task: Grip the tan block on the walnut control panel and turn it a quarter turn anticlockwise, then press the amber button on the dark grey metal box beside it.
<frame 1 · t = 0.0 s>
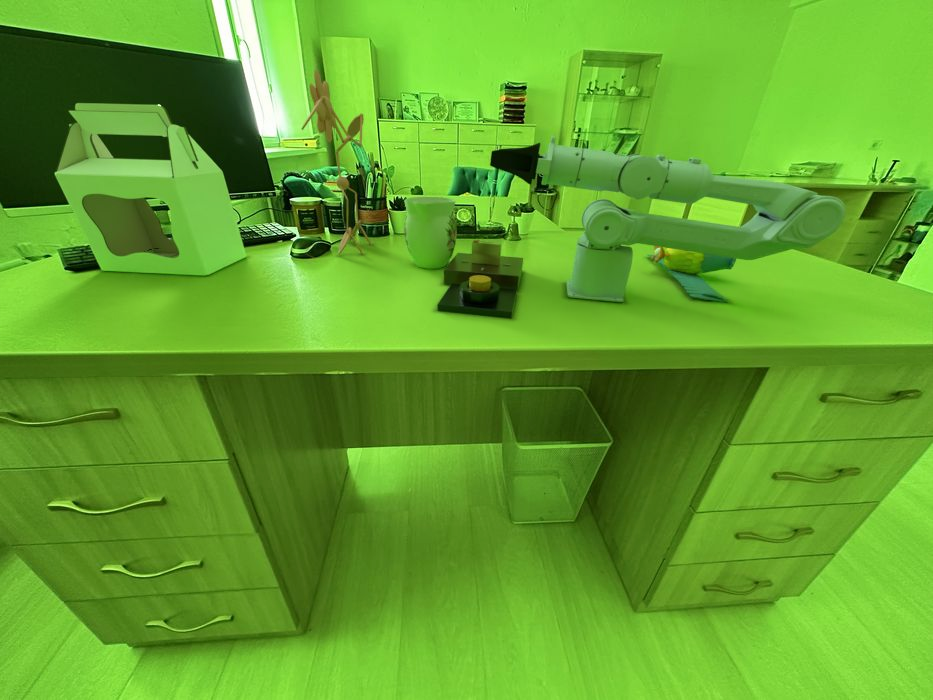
hand: (494, 157, 60), 22 cm above the table, tool horizontal, fingers open, 7 cm apart
button box: (479, 302, 63), on the table
gable box: (179, 264, 77), on the table
tan block: (486, 252, 71), point 5 cm above the table, hinge at 0.0°
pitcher: (432, 263, 82), on the table
figurine: (339, 249, 90), on the table
toy bird: (685, 277, 78), on the table
button: (479, 283, 61), point 3 cm above the table, slide at 0.1 cm
panel: (485, 277, 74), on the table
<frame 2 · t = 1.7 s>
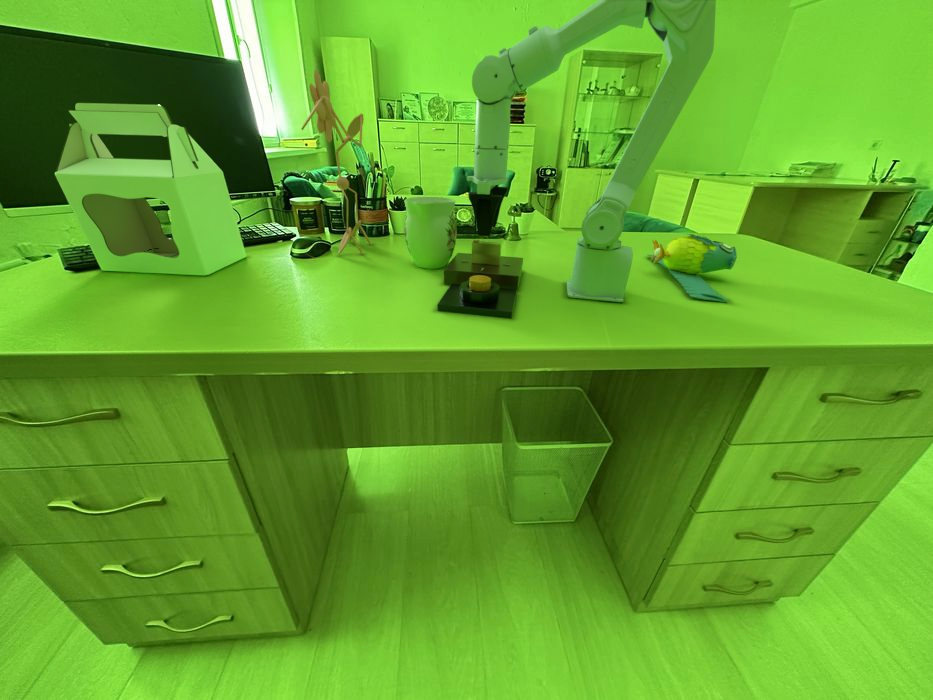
hand: (487, 230, 69), 9 cm above the table, tool pointing down, fingers open, 7 cm apart
nothing on the table moved.
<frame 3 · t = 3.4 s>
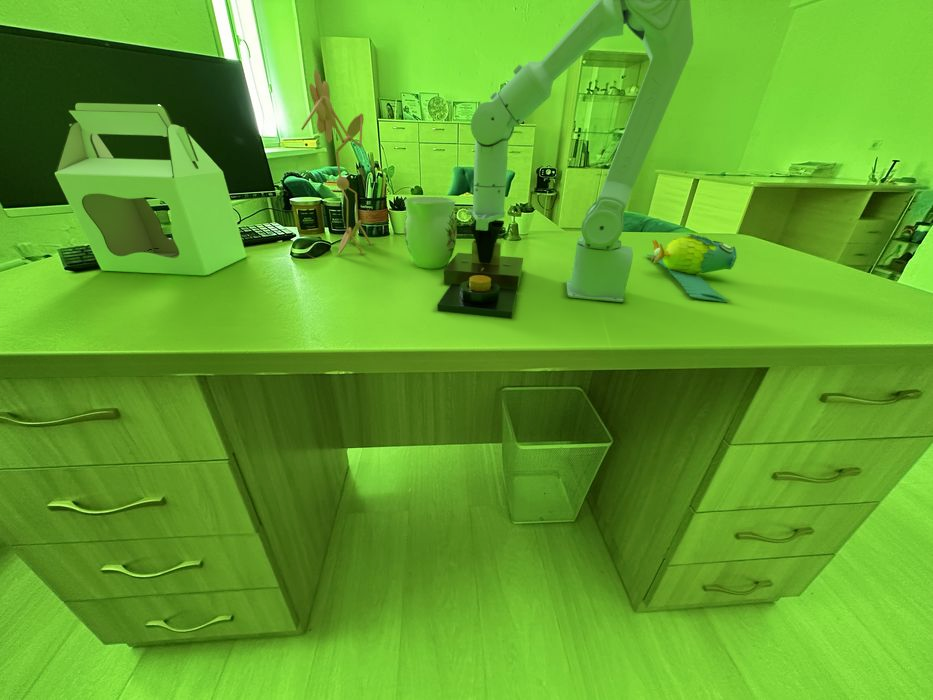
hand: (485, 260, 72), 4 cm above the table, tool pointing down, fingers closed on tan block, 2 cm apart
tan block: (486, 252, 71), point 5 cm above the table, hinge at 0.0°, touching gripper
everything else where it was.
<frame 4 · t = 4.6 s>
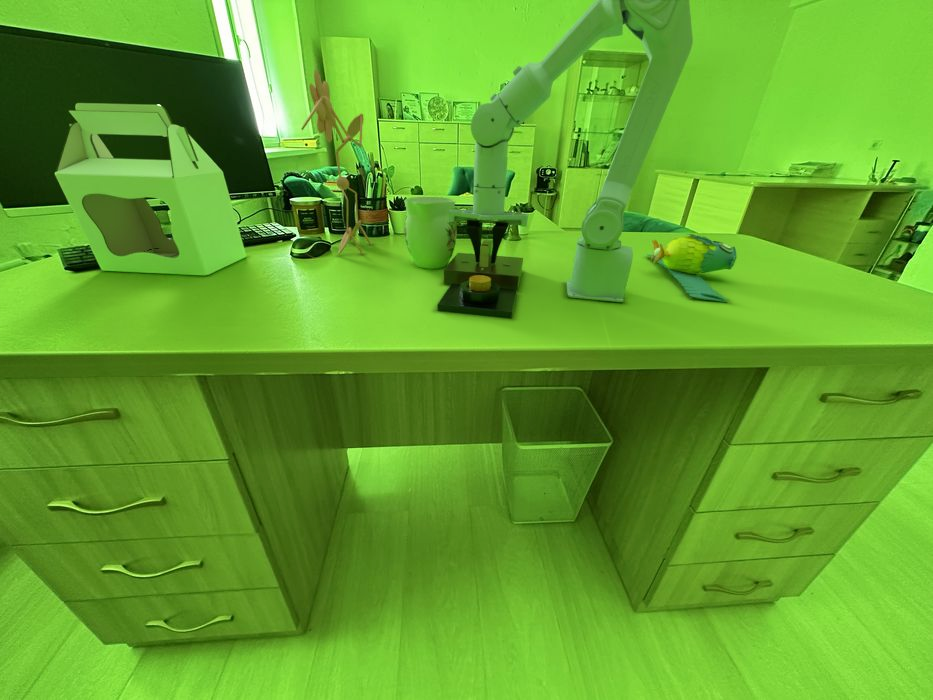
hand: (485, 261, 72), 3 cm above the table, tool pointing down, fingers closed
tan block: (486, 252, 71), point 5 cm above the table, hinge at 90.0°
everything else where it was.
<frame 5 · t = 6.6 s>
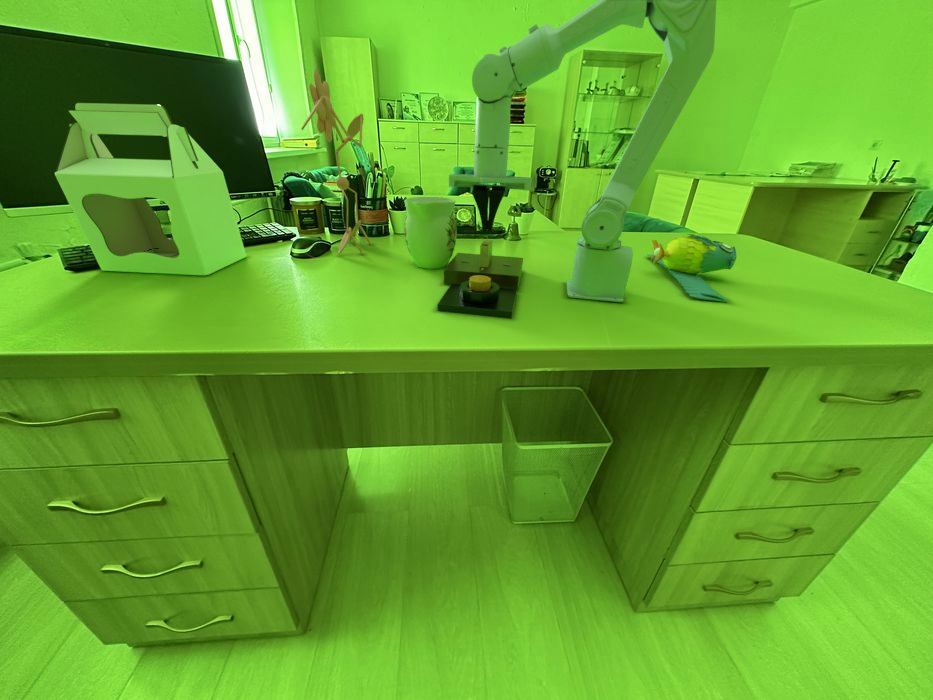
hand: (487, 230, 69), 9 cm above the table, tool pointing down, fingers closed
nothing on the table moved.
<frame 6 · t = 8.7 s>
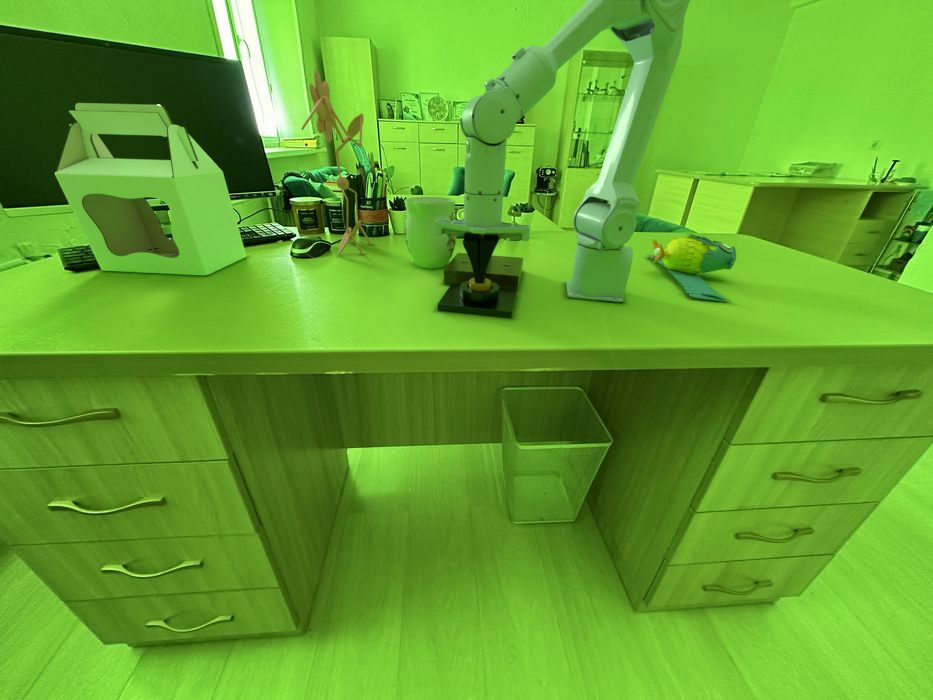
hand: (479, 281, 61), 4 cm above the table, tool pointing down, fingers closed, pressing on button
button: (479, 286, 61), point 3 cm above the table, slide at -0.3 cm, touching gripper
everything else where it was.
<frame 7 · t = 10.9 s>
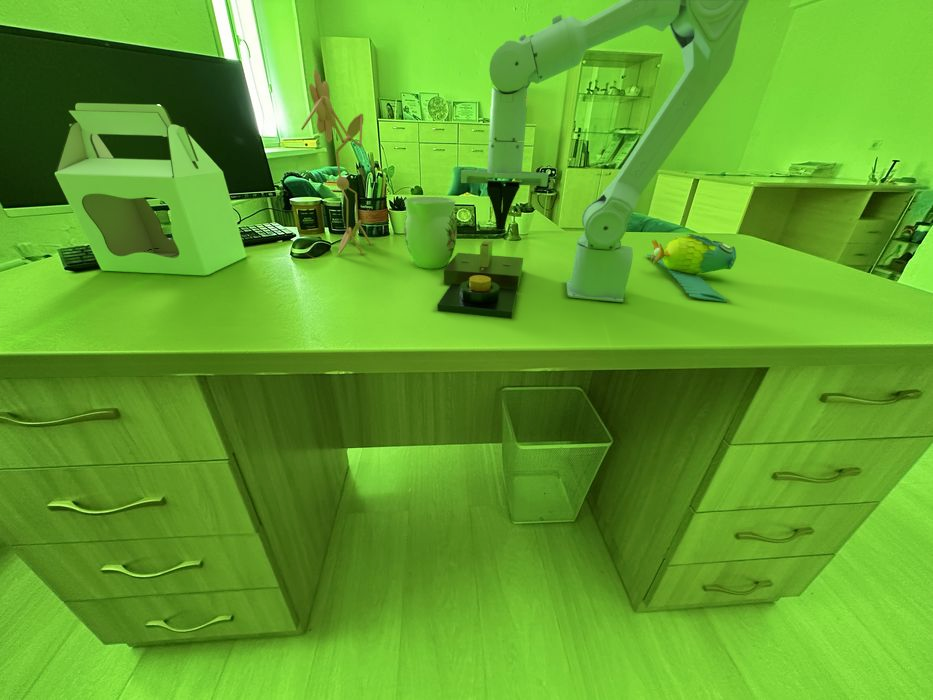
hand: (500, 228, 66), 10 cm above the table, tool pointing down, fingers closed
button: (479, 283, 61), point 3 cm above the table, slide at 0.1 cm
everything else where it was.
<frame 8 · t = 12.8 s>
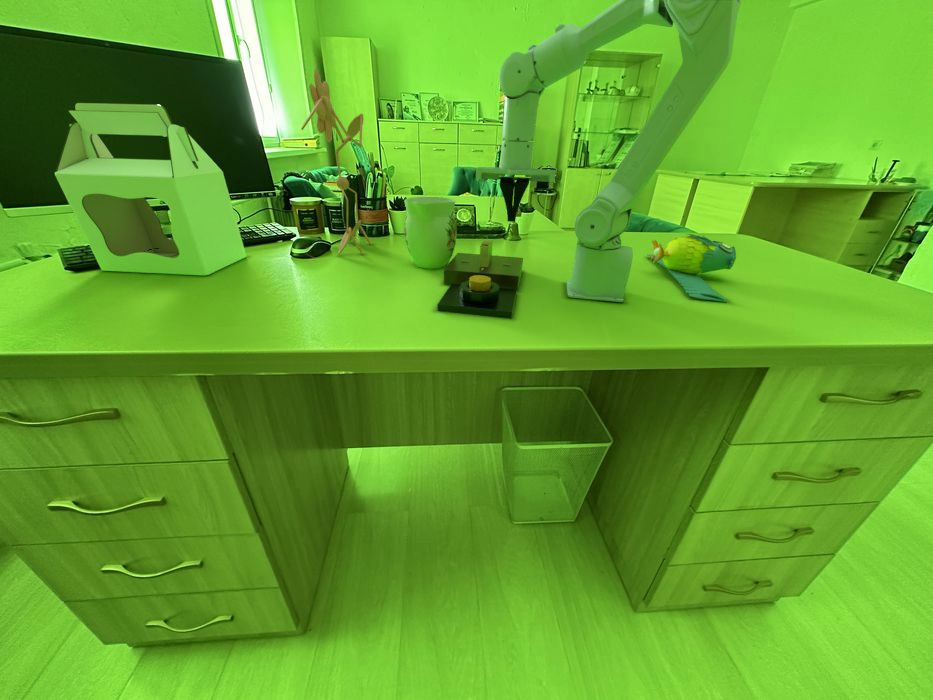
hand: (511, 220, 72), 10 cm above the table, tool pointing down, fingers closed
nothing on the table moved.
at the end: tan block at +90° (first picture: +0°); button pushed in 1.2 cm at the most during the clip, back to where it started at the end; button slide at 0.1 cm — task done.
